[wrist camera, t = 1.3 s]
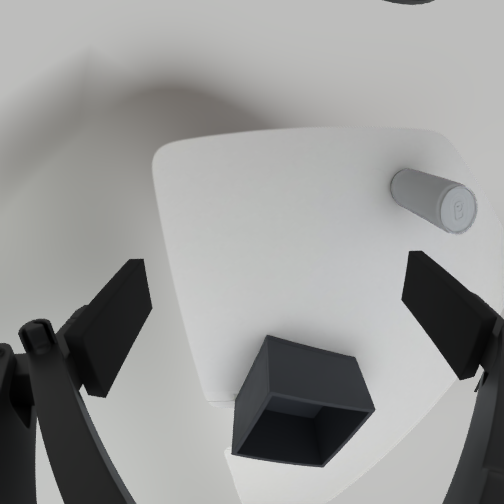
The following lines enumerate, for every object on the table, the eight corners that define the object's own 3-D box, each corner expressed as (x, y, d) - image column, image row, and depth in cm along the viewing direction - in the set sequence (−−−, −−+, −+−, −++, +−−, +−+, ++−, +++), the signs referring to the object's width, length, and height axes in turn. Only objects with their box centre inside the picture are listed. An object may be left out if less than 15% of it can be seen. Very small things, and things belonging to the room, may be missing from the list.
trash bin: (266, 334, 43) (269, 391, 32) (355, 357, 44) (375, 409, 34) (235, 400, 47) (231, 454, 37) (314, 416, 49) (323, 467, 38)
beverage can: (418, 164, 34) (476, 179, 23) (424, 201, 36) (479, 228, 25) (385, 172, 35) (436, 190, 24) (392, 210, 36) (441, 241, 25)
